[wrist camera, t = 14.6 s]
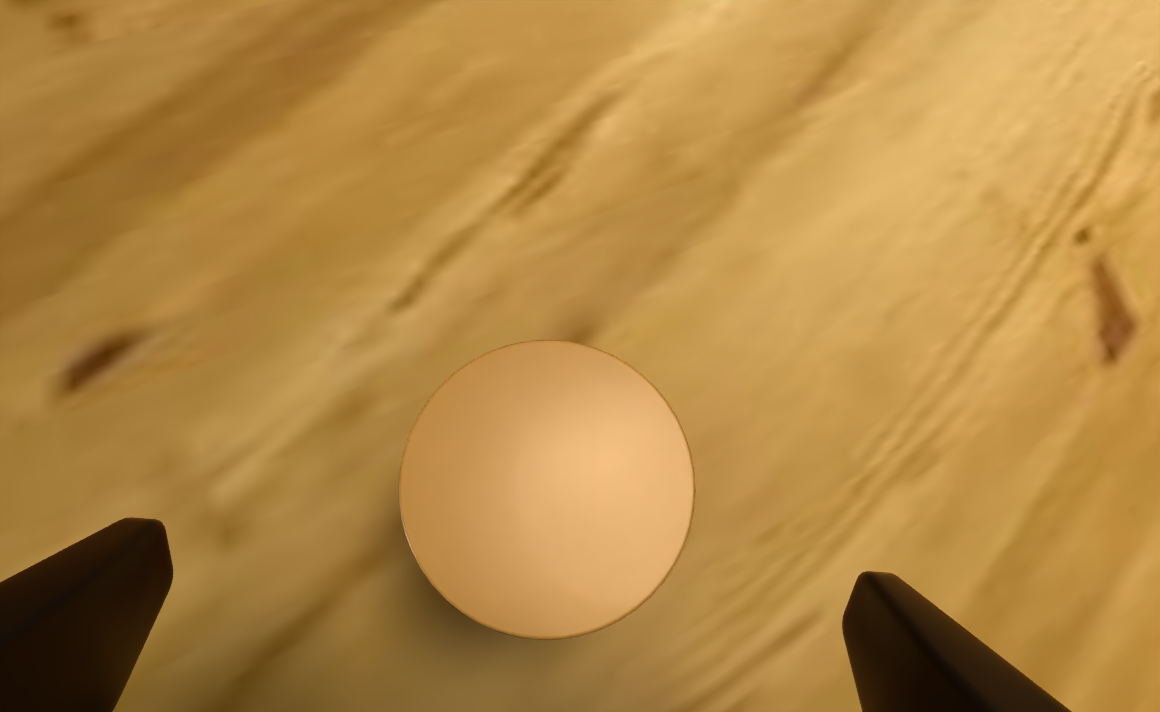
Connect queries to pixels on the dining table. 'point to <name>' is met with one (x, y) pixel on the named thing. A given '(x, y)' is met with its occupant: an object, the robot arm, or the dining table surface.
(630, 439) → the tea canister
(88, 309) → the dining table surface
